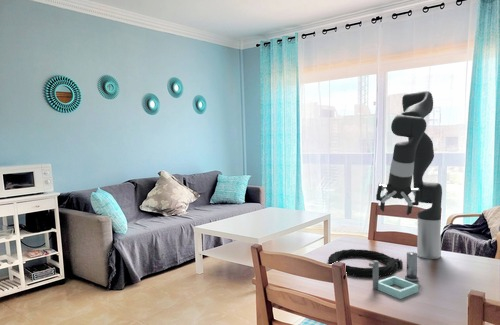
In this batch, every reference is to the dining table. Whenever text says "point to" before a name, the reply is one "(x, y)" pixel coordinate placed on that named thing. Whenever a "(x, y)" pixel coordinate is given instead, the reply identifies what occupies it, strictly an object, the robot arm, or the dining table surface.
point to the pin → (411, 267)
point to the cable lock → (367, 272)
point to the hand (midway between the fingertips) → (394, 212)
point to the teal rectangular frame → (385, 284)
